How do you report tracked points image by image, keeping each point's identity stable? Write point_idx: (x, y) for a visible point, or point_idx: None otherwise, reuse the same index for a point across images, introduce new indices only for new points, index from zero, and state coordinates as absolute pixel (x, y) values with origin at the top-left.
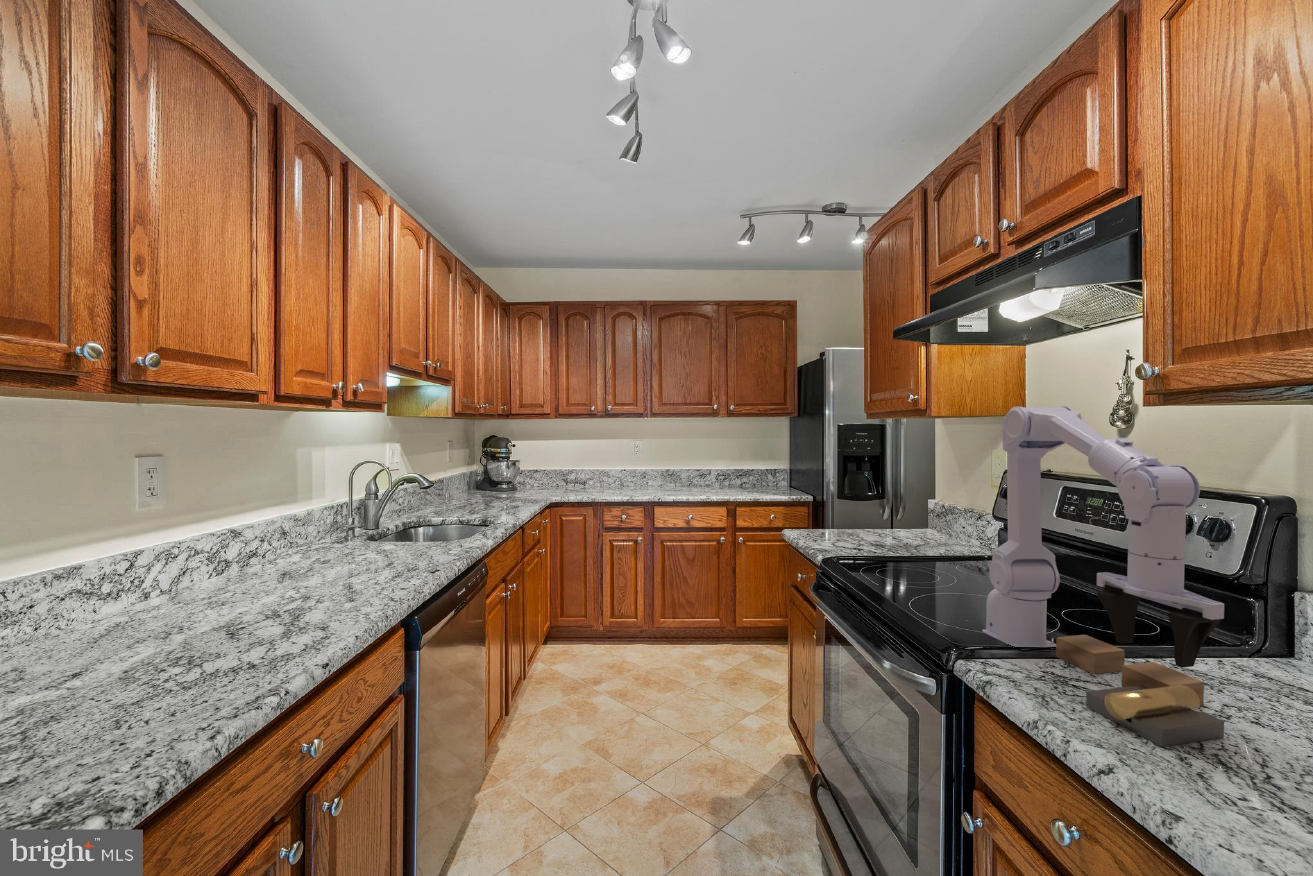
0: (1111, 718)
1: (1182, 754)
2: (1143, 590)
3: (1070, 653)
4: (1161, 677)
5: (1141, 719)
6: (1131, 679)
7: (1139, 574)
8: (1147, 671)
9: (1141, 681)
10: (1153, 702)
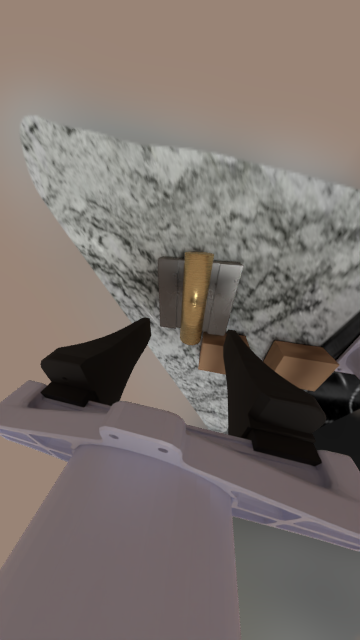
0: None
1: (153, 264)
2: (102, 438)
3: (309, 352)
4: (216, 352)
5: (177, 260)
6: None
7: (71, 625)
8: None
9: None
10: (183, 292)
